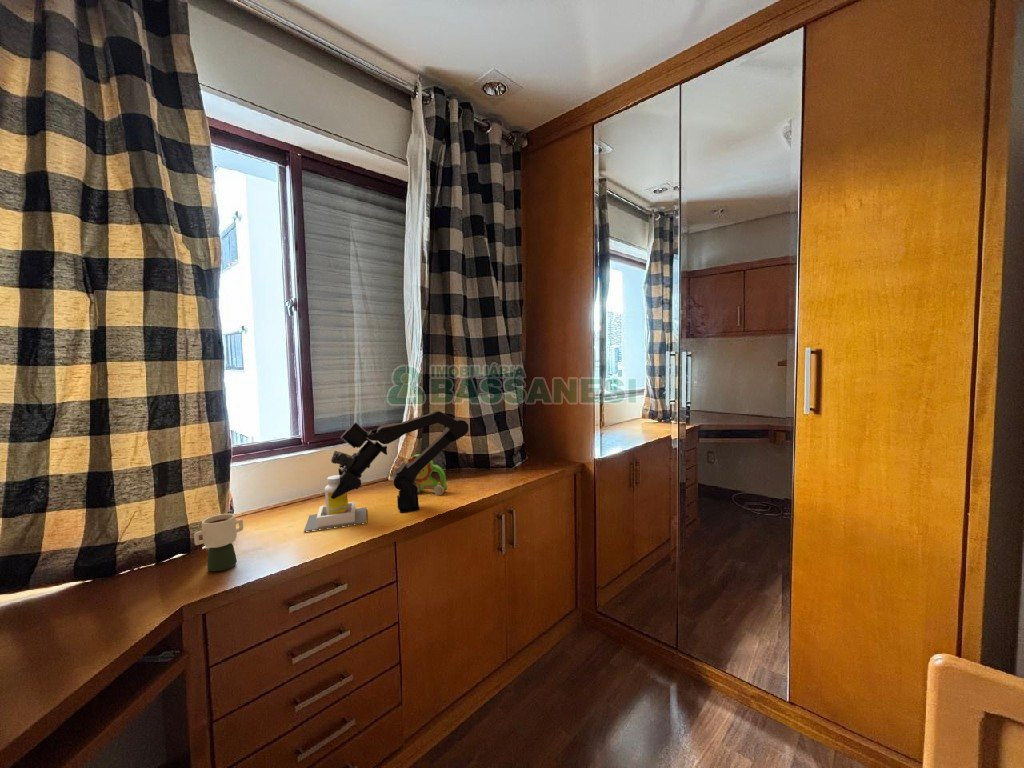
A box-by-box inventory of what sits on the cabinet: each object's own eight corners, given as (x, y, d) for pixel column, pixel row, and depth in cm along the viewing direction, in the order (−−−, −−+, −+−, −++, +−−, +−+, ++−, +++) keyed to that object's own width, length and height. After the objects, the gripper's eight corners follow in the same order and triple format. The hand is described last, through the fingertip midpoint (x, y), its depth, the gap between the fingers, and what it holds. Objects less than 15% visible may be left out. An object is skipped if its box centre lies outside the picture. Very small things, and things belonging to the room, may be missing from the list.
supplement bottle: (352, 514, 139) (349, 476, 138) (332, 521, 134) (329, 481, 133) (342, 510, 144) (340, 472, 143) (323, 516, 139) (320, 477, 138)
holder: (366, 508, 149) (365, 498, 148) (366, 523, 135) (365, 512, 135) (309, 516, 143) (309, 506, 143) (304, 532, 130) (303, 521, 129)
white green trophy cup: (239, 555, 115) (236, 509, 115) (251, 562, 111) (248, 514, 110) (191, 573, 107) (187, 522, 106) (203, 581, 102) (198, 528, 102)
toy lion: (448, 491, 165) (446, 453, 164) (442, 496, 160) (441, 456, 159) (410, 489, 169) (409, 452, 168) (404, 494, 163) (402, 455, 162)
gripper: (344, 437, 147) (311, 473, 144) (347, 447, 130) (310, 488, 127) (369, 456, 151) (338, 492, 148) (375, 468, 134) (340, 509, 131)
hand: (331, 494), depth 138 cm, fingers closed on supplement bottle, 7 cm apart
